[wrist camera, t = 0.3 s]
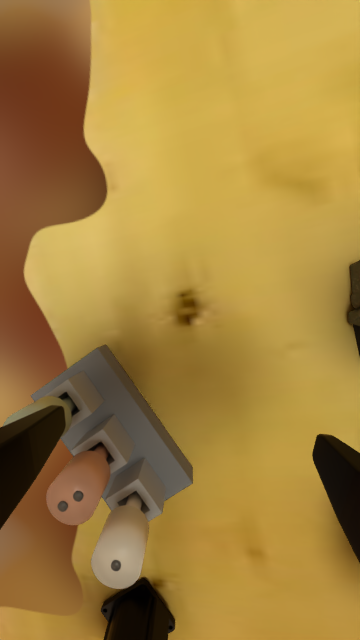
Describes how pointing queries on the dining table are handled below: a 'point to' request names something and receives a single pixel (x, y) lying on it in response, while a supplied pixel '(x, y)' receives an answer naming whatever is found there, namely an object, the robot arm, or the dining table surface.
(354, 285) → the mechanical leg
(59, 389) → the grey button panel
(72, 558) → the dining table surface
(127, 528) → the cream key
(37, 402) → the sage key
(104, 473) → the terracotta key
